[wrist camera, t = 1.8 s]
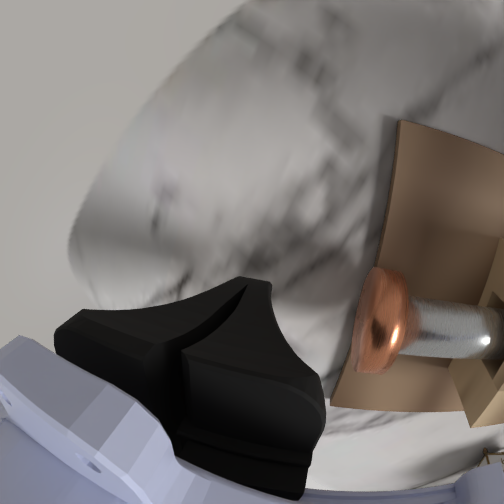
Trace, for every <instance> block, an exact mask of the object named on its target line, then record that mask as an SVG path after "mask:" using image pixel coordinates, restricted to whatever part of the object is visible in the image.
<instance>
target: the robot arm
mask: <svg viewBox="0 0 504 504" xmlns="http://www.w3.org/2000/svg"><path fill="white" fill-rule="evenodd" d="M271 291H272V284H271V283H270V282H268V281H262V280H257V279H251V278H246V277H241V276H239V277H236V278H234V279H232V280H229V281H227V282H225V283H223V284H221V285H219V286H217V287H215V288H212V289H210V290H208V291H205V292H203V293H200V294H198V295H195V296H193V297H190V298H187V299H184V300H181V301H177V302H173V303H170V304H165V305H160V306H154V307H148V308H142V309H131V310H89V309H82V310H81V311H79V312H78V313H77V314H75V315H74V316H73V317H71V318H70V319H69V320H67V321H66V322H65V323H64V324H62V325H61V326H60V327H58V328H57V329H56V331H55V333H54V347H55V351H56V354H55V353H54V352H52V351H50V350H49V349H47V348H45V347H44V346H42V345H41V344H39V343H38V342H36V341H35V340H33V339H29V338H27V337H23V336H20V335H19V336H17V337H16V338H15V339H13V340H12V341H11V342H9V343H8V344H7V345H5V346H4V347H2V348H1V349H0V504H504V472H503V468H502V465H501V462H496V463H492V464H488V465H484V466H480V467H476V468H473V469H471V470H469V471H467V472H466V473H465V474H463V475H462V476H461V477H460V478H459V479H458V480H457V481H456V482H455V483H452V484H447V485H441V486H435V487H428V488H420V489H410V490H398V491H377V492H352V491H330V490H317V489H308V488H305V485H306V479H307V473H308V468H309V467H310V465H311V461H312V453H313V450H314V448H315V446H316V444H317V442H318V440H319V438H320V436H321V434H322V432H323V430H324V427H325V423H326V407H325V399H324V394H323V389H322V385H321V381H320V378H319V375H318V374H317V373H316V372H315V371H314V370H312V369H311V368H310V367H309V366H308V365H307V364H305V363H304V362H303V361H302V360H301V359H300V358H299V357H298V356H297V355H296V354H295V352H294V351H293V350H292V348H291V347H290V345H289V344H288V343H287V341H286V340H285V338H284V336H283V334H282V332H281V330H280V328H279V326H278V324H277V321H276V318H275V315H274V312H273V308H272V303H271Z"/></svg>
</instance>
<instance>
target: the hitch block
mask: <svg viewBox="0 0 504 504" xmlns="http://www.w3.org/2000/svg"><path fill="white" fill-rule="evenodd" d="M374 267H379V268H384V269H390V270H396V271H400V272H402V273H403V275H404V277H405V279H406V282H407V287H408V296H415V297H421V298H428V299H435V300H441V301H448V302H455V303H462V304H469V305H476V306H483V307H491V308H498V309H504V155H503V154H501V153H499V152H496V151H494V150H491V149H489V148H487V147H484V146H482V145H479V144H477V143H474V142H471V141H469V140H466V139H463V138H460V137H458V136H455V135H452V134H449V133H446V132H443V131H440V130H436V129H433V128H430V127H426V126H423V125H419V124H416V123H412V122H408V121H405V120H399V121H398V124H397V136H396V146H395V154H394V162H393V170H392V177H391V184H390V190H389V196H388V202H387V208H386V213H385V218H384V224H383V228H382V233H381V238H380V243H379V247H378V251H377V256H376V260H375V264H374ZM351 347H352V343H351V346H350V348H349V351H348V354H347V357H346V360H345V362H344V365H343V368H342V371H341V373H340V376H339V378H338V381H337V383H336V386H335V388H334V391H333V393H332V396H331V398H330V406H335V407H344V408H353V409H364V410H377V411H396V412H450V411H465V414H466V417H467V420H468V423H469V426H470V428H475V427H482V426H489V425H495V424H501V423H504V360H493V359H458V358H440V357H426V356H414V355H403V354H398V355H397V357H396V359H395V361H394V363H393V365H392V366H391V367H390V369H389V370H388V371H387V372H386V373H384V374H382V375H379V374H369V373H361V372H355V371H354V370H353V367H352V361H351Z"/></svg>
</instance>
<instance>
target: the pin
mask: <svg viewBox="0 0 504 504" xmlns="http://www.w3.org/2000/svg"><path fill="white" fill-rule="evenodd" d="M398 354H403V355H414V356H426V357H440V358H458V359H493V360H504V309H498V308H491V307H483V306H476V305H469V304H462V303H455V302H448V301H441V300H435V299H428V298H421V297H415V296H408V287H407V282H406V279H405V277H404V275H403V273H402V272H400V271H396V270H390V269H384V268H379V267H373V268H372V269H371V270H370V272H369V274H368V276H367V278H366V280H365V283H364V285H363V288H362V292H361V295H360V299H359V303H358V307H357V312H356V317H355V322H354V329H353V336H352V347H351V361H352V367H353V370H354V371H355V372H361V373H369V374H379V375H382V374H384V373H386V372H387V371H388V370H389V369H390V367H391V366H392V365H393V363H394V361H395V359H396V357H397V355H398Z"/></svg>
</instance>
